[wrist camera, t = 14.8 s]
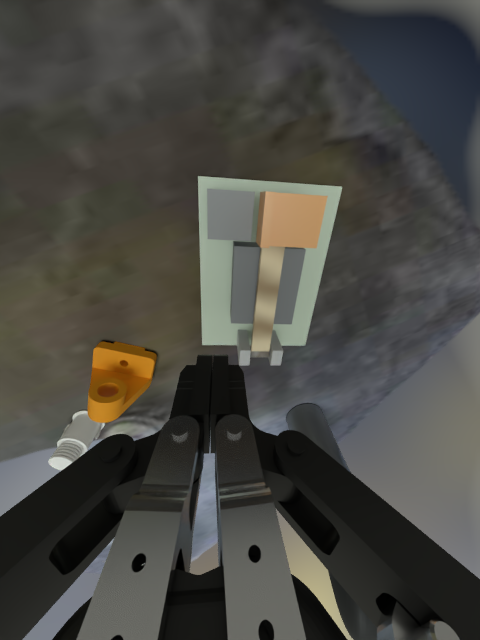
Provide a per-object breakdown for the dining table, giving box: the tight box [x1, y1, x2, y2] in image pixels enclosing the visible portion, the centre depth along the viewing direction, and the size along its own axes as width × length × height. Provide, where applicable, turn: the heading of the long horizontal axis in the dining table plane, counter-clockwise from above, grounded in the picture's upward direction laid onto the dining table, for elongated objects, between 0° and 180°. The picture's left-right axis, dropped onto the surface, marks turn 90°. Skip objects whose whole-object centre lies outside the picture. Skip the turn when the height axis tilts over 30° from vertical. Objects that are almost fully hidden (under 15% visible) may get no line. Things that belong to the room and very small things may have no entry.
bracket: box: [88, 341, 157, 423], centre depth 40 cm, size 11×7×12 cm, turn 71°
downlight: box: [49, 411, 105, 470], centre depth 49 cm, size 8×7×10 cm
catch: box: [256, 191, 328, 248], centre depth 26 cm, size 6×7×4 cm
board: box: [198, 176, 342, 365], centre depth 35 cm, size 27×20×8 cm
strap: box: [250, 246, 285, 357], centre depth 33 cm, size 23×3×2 cm, turn 177°
